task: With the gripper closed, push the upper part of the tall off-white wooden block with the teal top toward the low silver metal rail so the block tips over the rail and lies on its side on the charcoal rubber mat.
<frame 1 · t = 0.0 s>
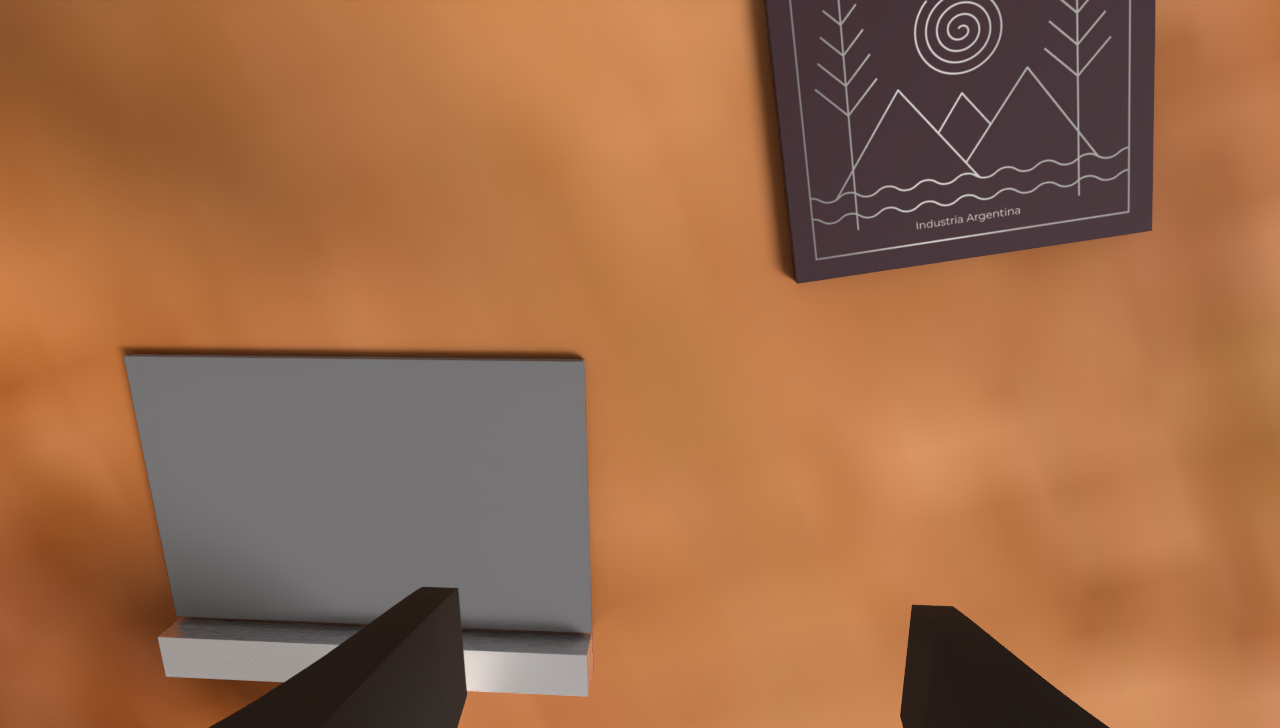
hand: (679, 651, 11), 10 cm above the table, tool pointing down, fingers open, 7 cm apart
stop rail: (385, 642, 24), on the table
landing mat: (368, 494, 22), on the table
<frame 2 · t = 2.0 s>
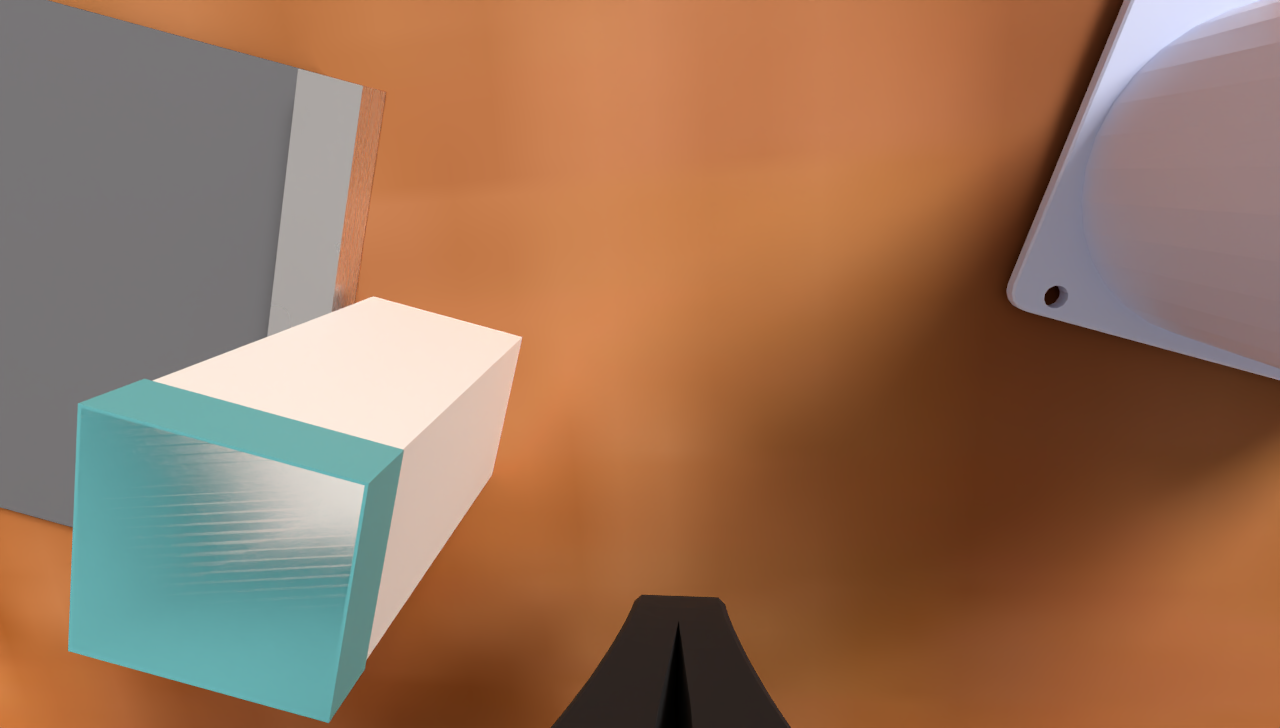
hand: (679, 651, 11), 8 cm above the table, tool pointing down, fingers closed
stop rail: (318, 356, 19), on the table
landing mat: (123, 303, 19), on the table
tall block: (434, 387, 19), on the table
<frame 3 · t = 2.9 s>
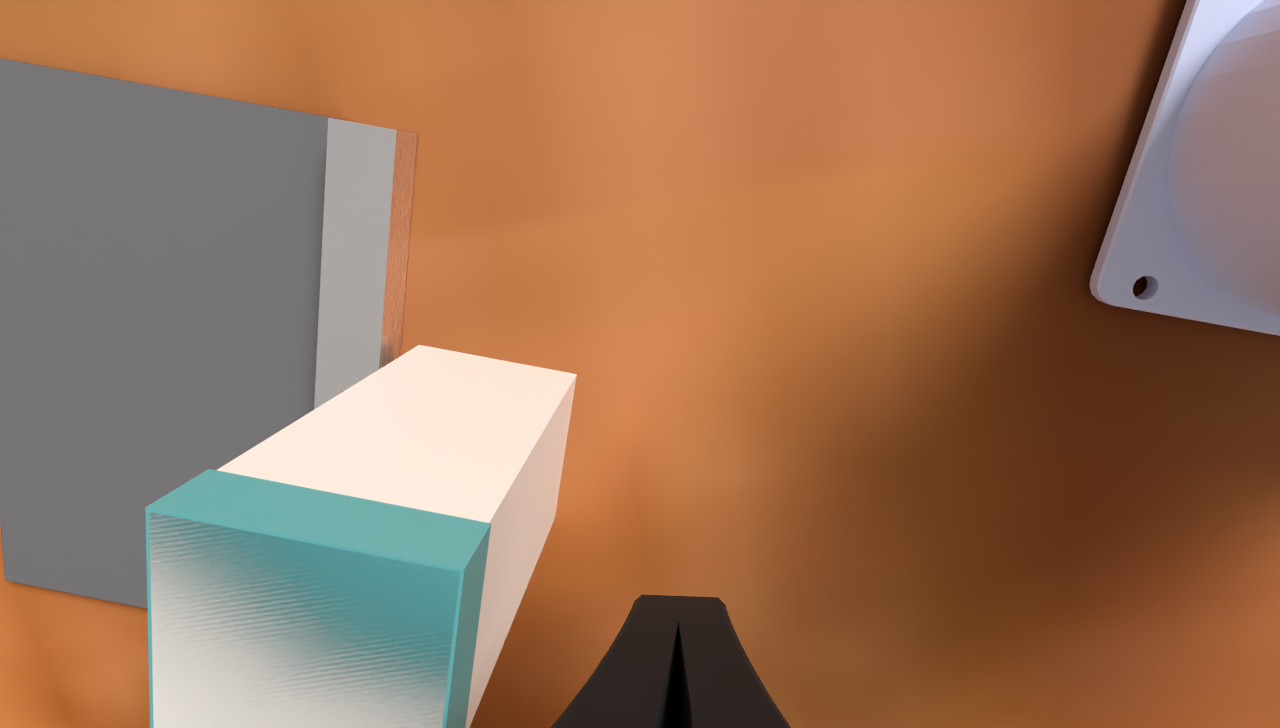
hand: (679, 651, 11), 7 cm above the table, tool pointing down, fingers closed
stop rail: (366, 411, 18), on the table
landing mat: (163, 372, 18), on the table
tall block: (488, 433, 18), on the table
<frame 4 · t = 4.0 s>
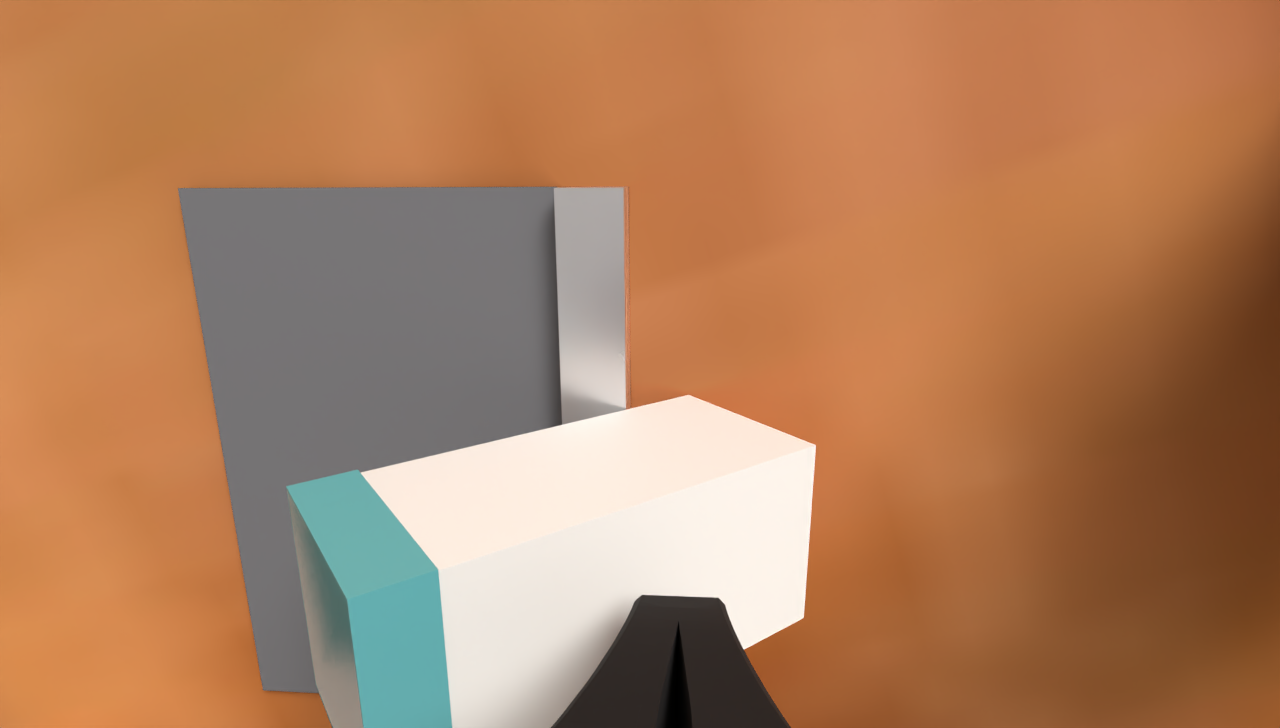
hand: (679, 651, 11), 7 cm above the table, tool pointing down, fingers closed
stop rail: (601, 469, 18), on the table
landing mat: (396, 463, 18), on the table
tall block: (742, 499, 16), point 2 cm above the table, tilted 50°, touching stop rail
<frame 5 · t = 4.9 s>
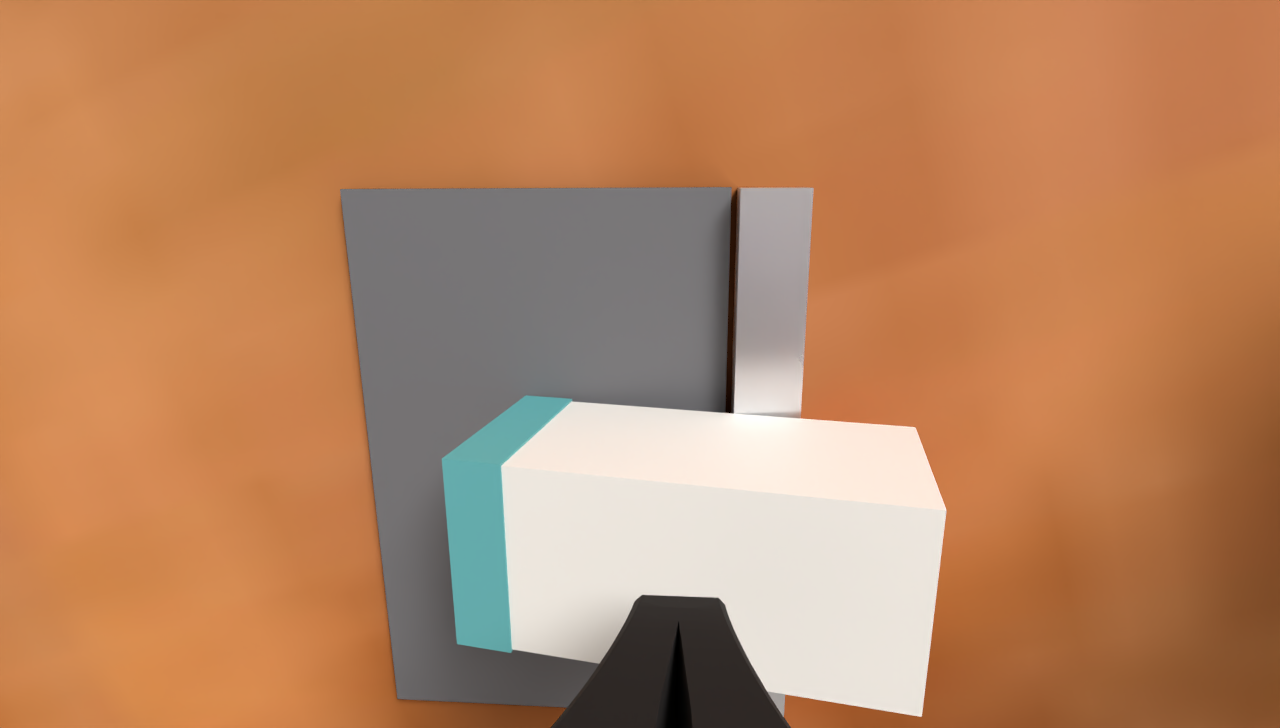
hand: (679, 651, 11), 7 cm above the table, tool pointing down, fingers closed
stop rail: (759, 474, 18), on the table
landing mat: (546, 469, 18), on the table
tall block: (918, 557, 14), point 4 cm above the table, tilted 100°, touching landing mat, stop rail
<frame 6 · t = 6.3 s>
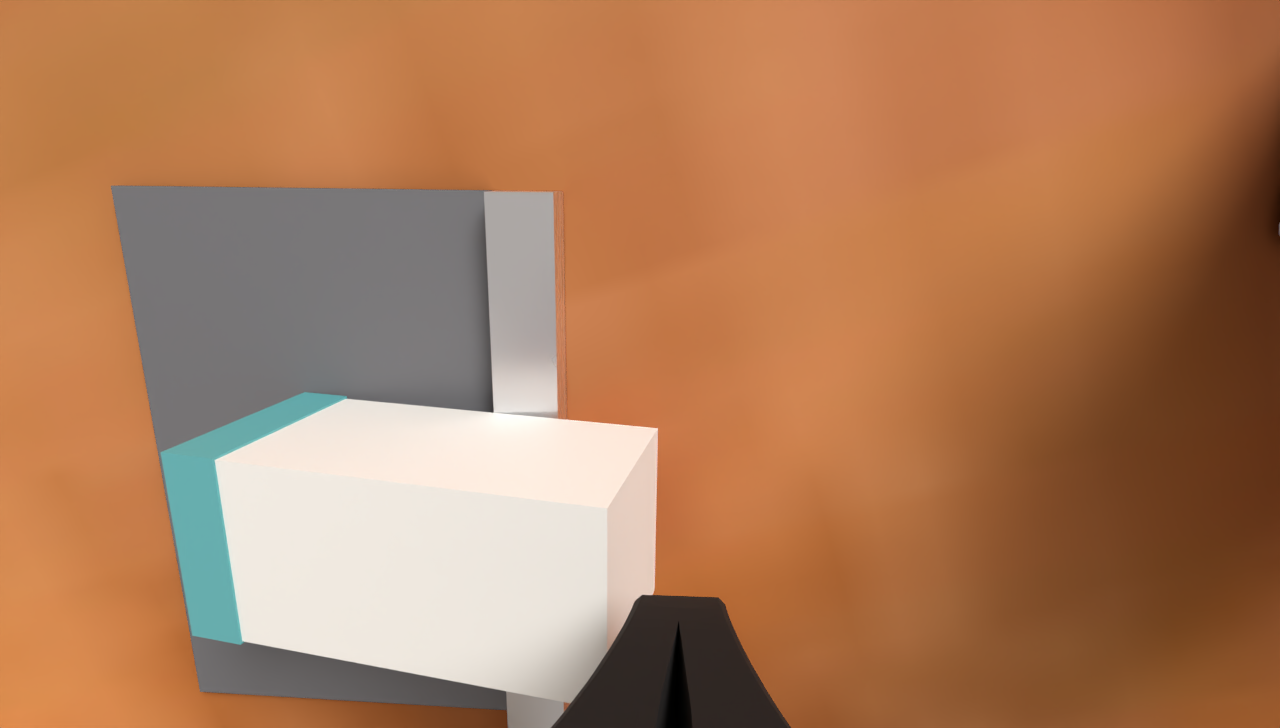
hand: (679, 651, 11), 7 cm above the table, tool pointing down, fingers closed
stop rail: (538, 473, 18), on the table
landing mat: (333, 465, 18), on the table
tall block: (634, 555, 14), point 4 cm above the table, tilted 100°, touching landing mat, stop rail
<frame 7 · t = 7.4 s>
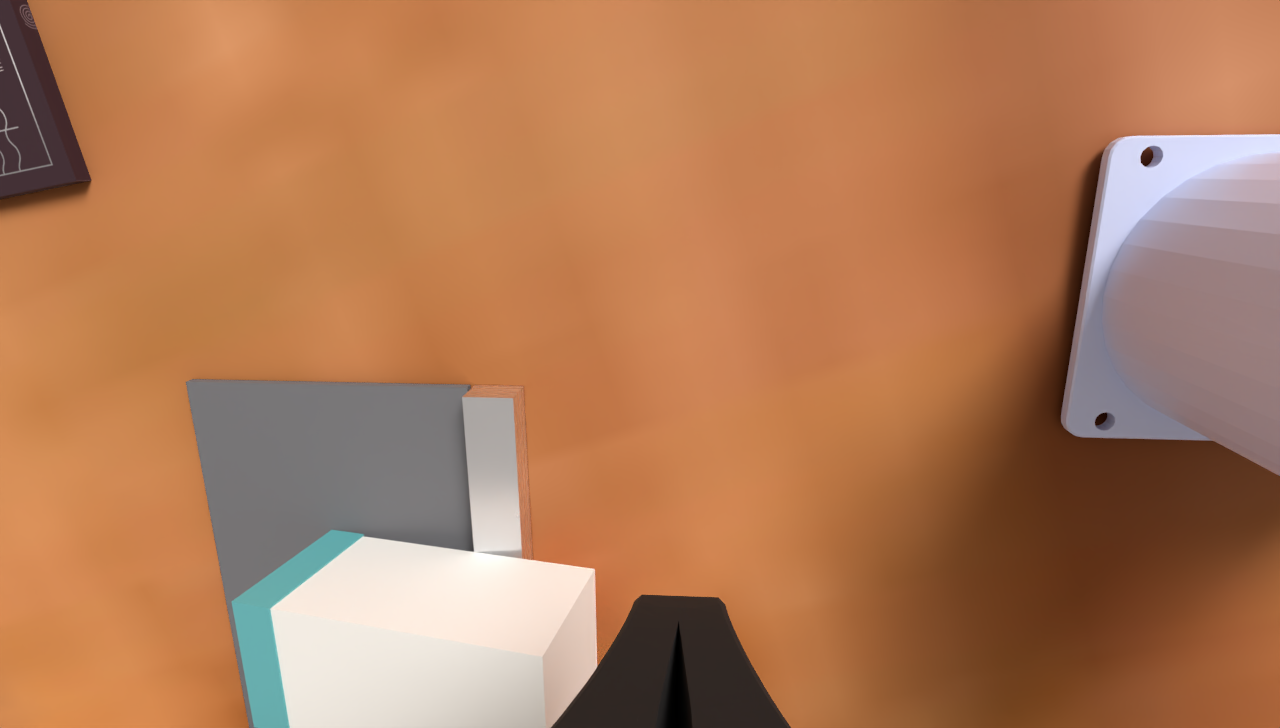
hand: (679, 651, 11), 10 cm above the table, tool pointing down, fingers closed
stop rail: (511, 588, 23), on the table
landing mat: (354, 581, 24), on the table
tall block: (573, 672, 19), point 4 cm above the table, tilted 100°, touching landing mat, stop rail
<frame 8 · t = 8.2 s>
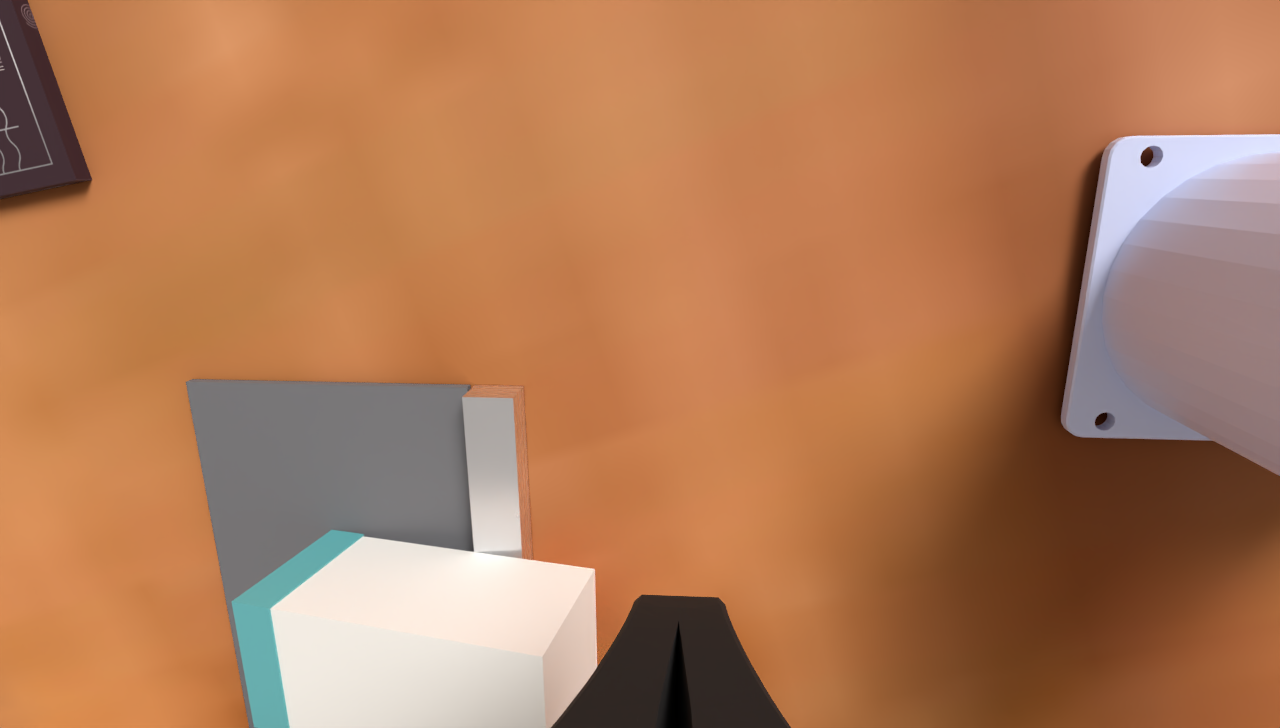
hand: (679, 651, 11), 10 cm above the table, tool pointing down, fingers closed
stop rail: (511, 588, 23), on the table
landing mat: (354, 581, 24), on the table
tall block: (573, 672, 19), point 4 cm above the table, tilted 100°, touching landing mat, stop rail
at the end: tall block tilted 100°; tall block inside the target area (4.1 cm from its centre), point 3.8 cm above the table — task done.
